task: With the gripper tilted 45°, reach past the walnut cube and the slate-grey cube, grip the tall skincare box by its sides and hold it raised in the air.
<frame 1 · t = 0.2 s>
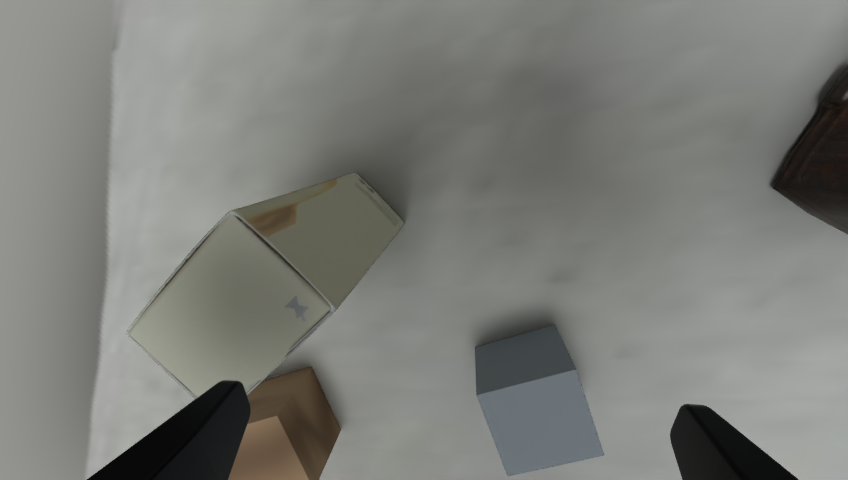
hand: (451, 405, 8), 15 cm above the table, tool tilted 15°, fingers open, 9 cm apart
walnut cube: (294, 407, 27), on the table
slate cube: (526, 370, 25), on the table
skincare box: (346, 232, 24), on the table
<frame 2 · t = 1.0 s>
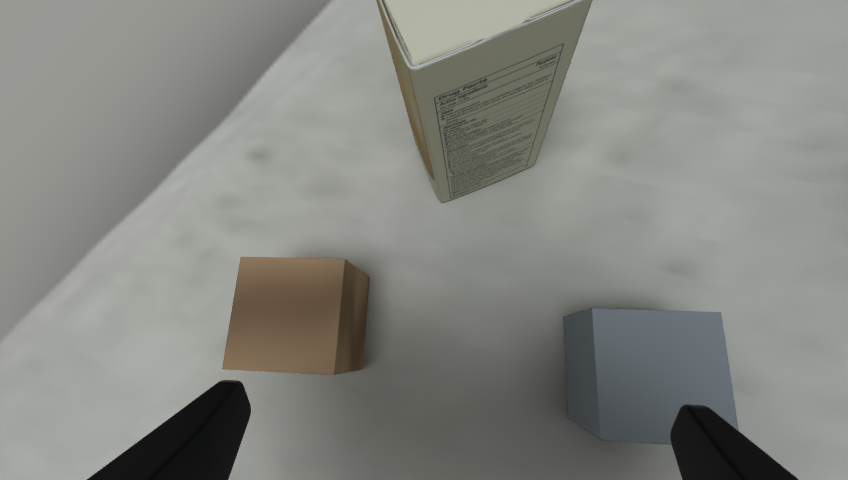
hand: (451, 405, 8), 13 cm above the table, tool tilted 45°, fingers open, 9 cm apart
walnut cube: (322, 320, 22), on the table
slate cube: (615, 368, 20), on the table
skincare box: (471, 158, 24), on the table
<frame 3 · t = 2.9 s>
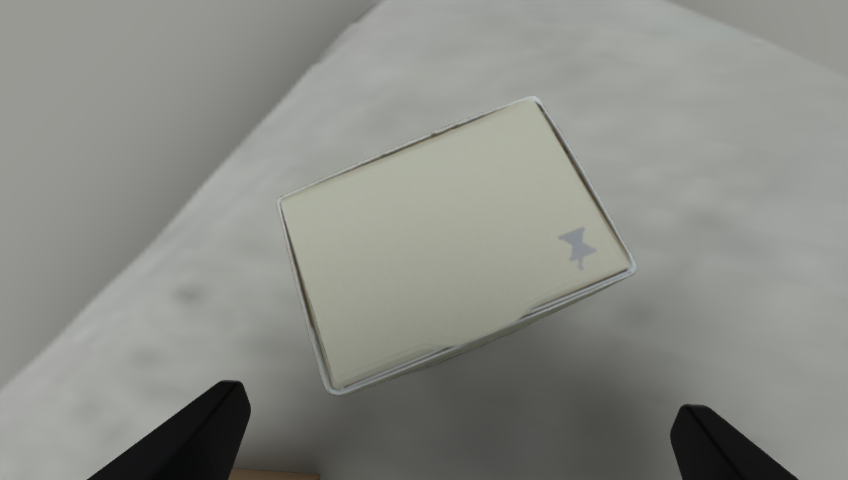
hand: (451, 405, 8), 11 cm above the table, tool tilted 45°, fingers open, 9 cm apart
skincare box: (453, 307, 19), on the table
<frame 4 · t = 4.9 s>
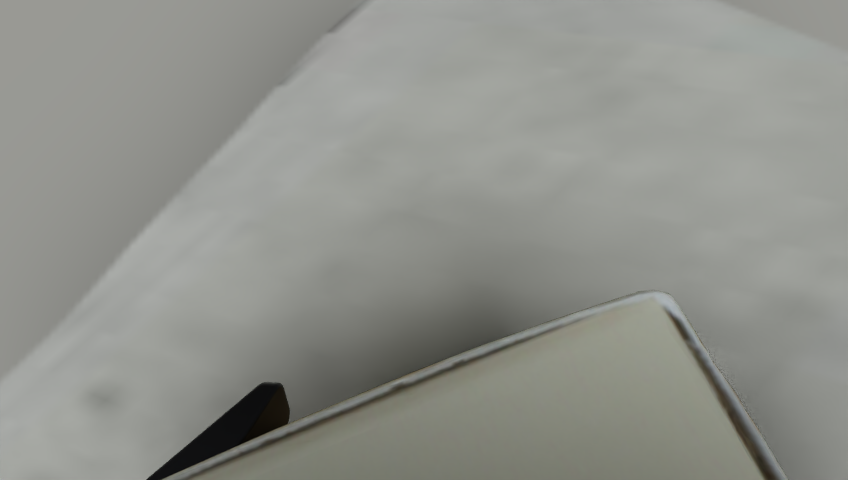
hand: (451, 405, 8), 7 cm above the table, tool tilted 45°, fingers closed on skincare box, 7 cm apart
skincare box: (453, 424, 14), on the table, touching gripper
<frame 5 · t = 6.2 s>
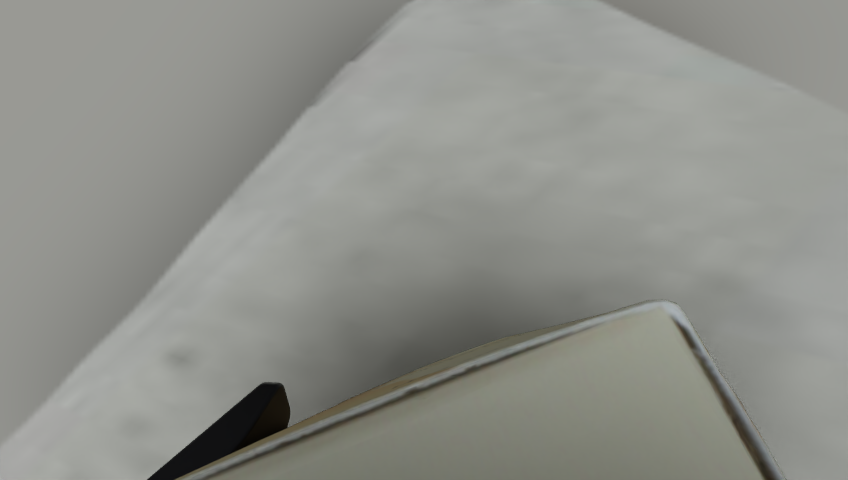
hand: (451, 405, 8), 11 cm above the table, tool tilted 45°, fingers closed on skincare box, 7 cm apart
skincare box: (450, 422, 14), point 4 cm above the table, touching gripper
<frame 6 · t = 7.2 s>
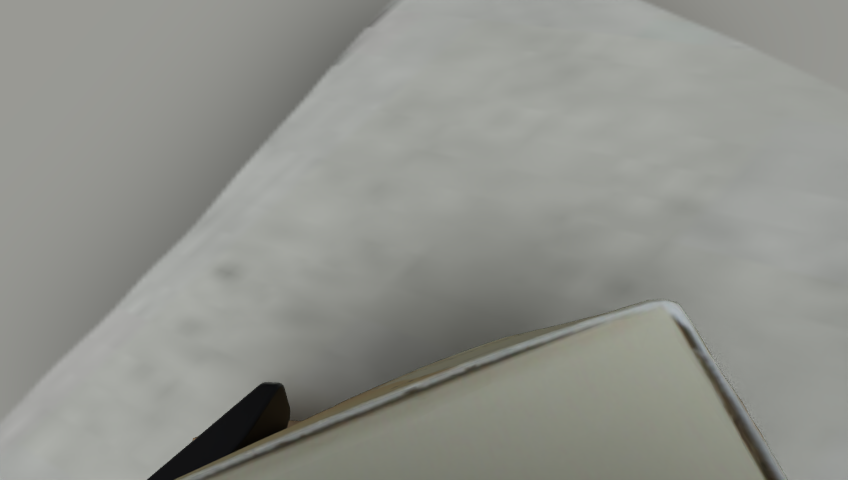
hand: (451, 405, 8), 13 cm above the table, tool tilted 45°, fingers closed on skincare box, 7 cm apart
skincare box: (450, 423, 14), point 6 cm above the table, touching gripper
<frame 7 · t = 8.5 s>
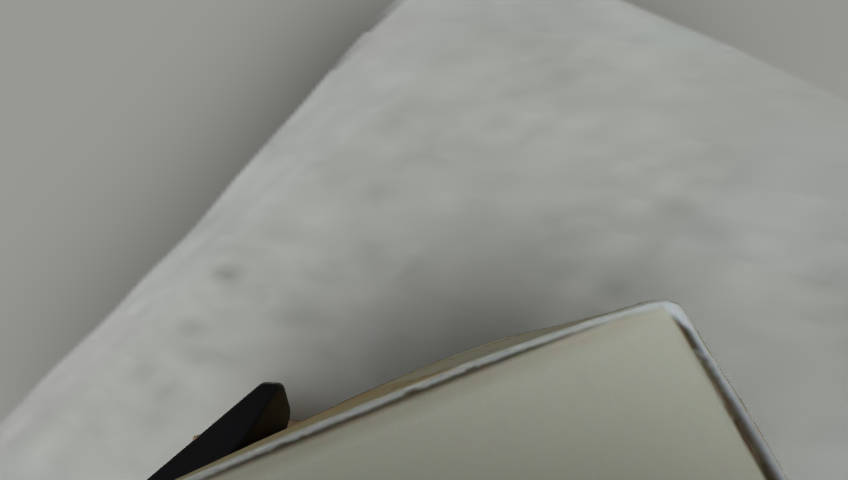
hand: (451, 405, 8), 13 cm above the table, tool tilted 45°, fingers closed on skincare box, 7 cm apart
skincare box: (450, 423, 14), point 6 cm above the table, touching gripper
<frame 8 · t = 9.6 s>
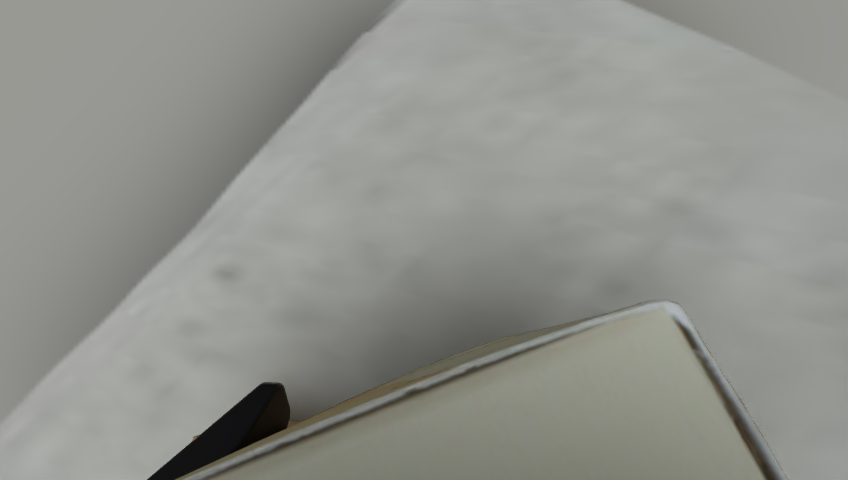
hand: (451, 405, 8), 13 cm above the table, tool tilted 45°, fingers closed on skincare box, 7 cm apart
skincare box: (450, 423, 14), point 6 cm above the table, touching gripper
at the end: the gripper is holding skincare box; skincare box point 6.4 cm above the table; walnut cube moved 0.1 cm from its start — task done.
